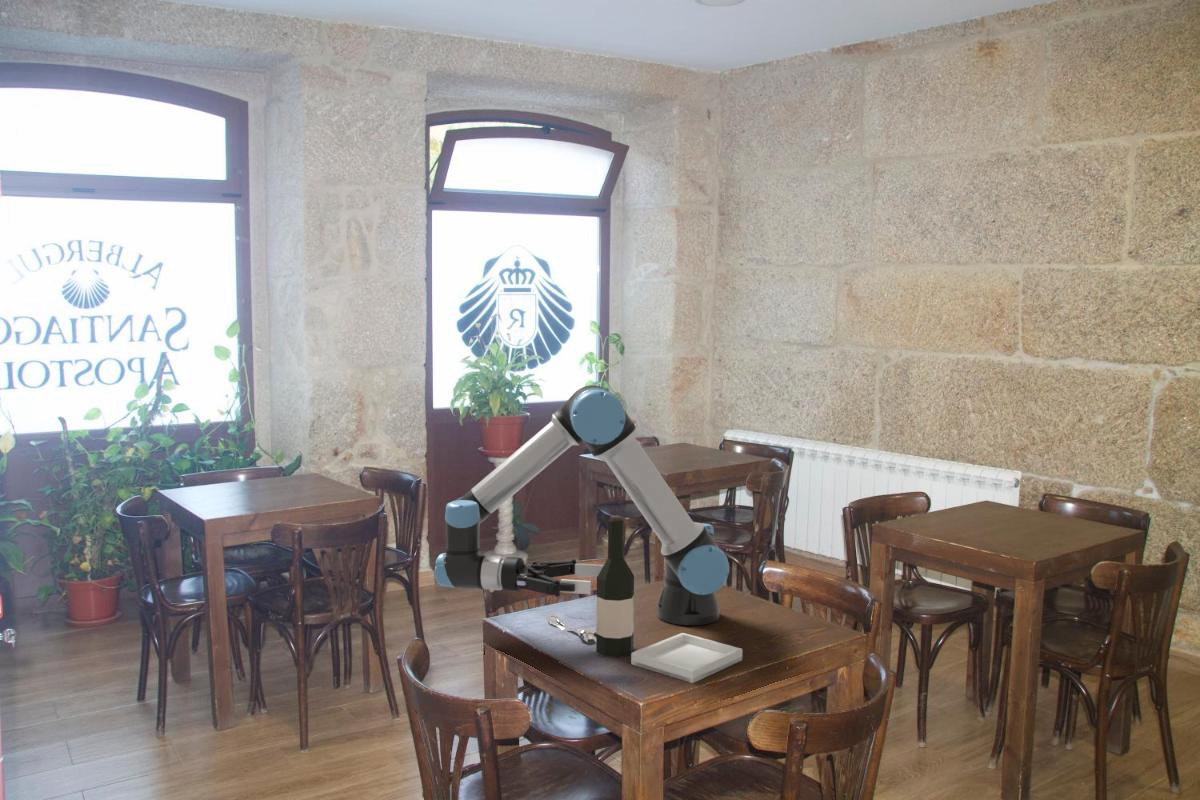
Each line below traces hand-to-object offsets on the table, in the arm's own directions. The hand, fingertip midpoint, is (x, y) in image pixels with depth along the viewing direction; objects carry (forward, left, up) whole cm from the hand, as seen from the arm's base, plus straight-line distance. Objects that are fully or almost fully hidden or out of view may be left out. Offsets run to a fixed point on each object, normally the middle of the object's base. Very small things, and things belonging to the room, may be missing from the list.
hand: (597, 579), depth 222 cm
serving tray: (-7, +19, -16) cm, 26 cm away
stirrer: (-5, -13, -17) cm, 22 cm away
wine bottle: (-2, +3, -16) cm, 17 cm away
